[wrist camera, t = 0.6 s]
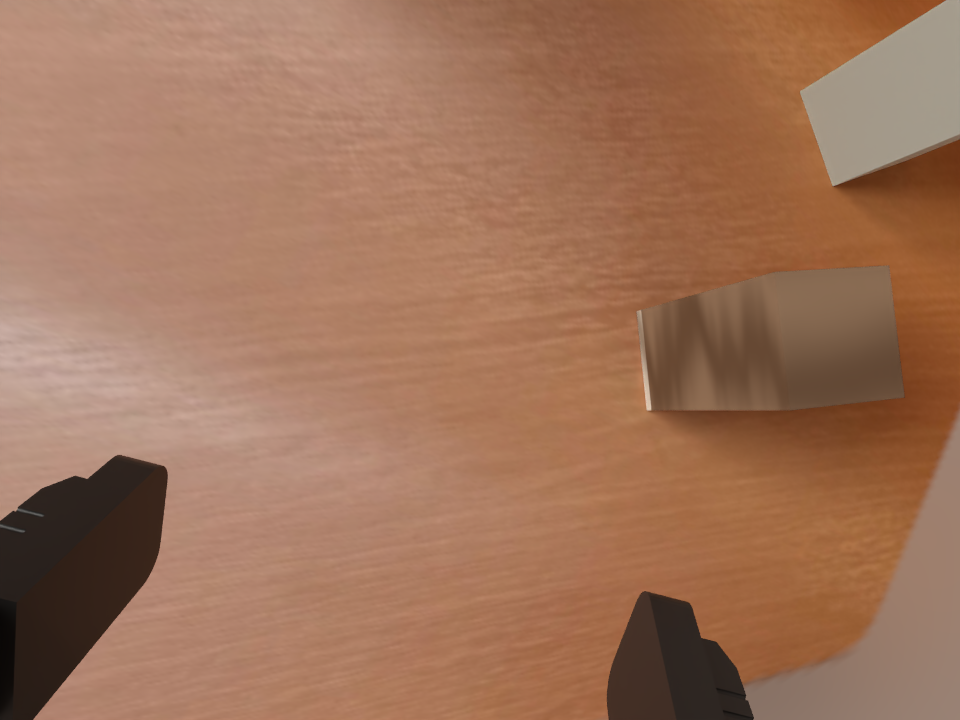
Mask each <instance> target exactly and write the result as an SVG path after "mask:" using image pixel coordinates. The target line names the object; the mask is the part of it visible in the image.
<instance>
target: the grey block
mask: <svg viewBox="0 0 960 720" xmlns="http://www.w3.org/2000/svg"><path fill="white" fill-rule="evenodd" d="M800 94H801V97H802V99H803V102H804V105H805V108H806V111H807V114H808V117H809V120H810V122H811V125H812V128H813V131H814V134H815V137H816V140H817V143H818V145H819V148H820V151H821V154H822V157H823V160H824V163H825V166H826V168H827V171H828V174H829V177H830V180H831V183H832V186H835V185H838V184H841V183H844V182H847V181H850V180H853V179H855V178H858V177H861V176H864V175H867V174H870V173H873V172H875V171H878V170H881V169H884V168H887V167H890V166H893V165H895V164H898V163H901V162H904V161H907V160H910V159H912V158H915V157H917V156H919V155H922V154H924V153H927V152H929V151H932V150H934V149H937V148H939V147H942V146H944V145H947V144H949V143H952V142H954V141H957V140H959V139H960V0H946V1H944V2H943V3H941V4H939V5H938V6H936V7H935V8H933V9H931V10H930V11H928V12H927V13H925V14H923V15H922V16H920V17H919V18H917V19H915V20H914V21H912V22H911V23H909V24H907V25H906V26H904V27H903V28H901V29H899V30H898V31H896V32H894V33H893V34H891V35H890V36H888V37H886V38H885V39H883V40H882V41H880V42H878V43H877V44H875V45H874V46H872V47H870V48H869V49H867V50H866V51H864V52H862V53H861V54H859V55H858V56H856V57H854V58H853V59H851V60H850V61H848V62H846V63H845V64H843V65H842V66H840V67H838V68H837V69H835V70H834V71H832V72H830V73H829V74H827V75H826V76H824V77H822V78H821V79H819V80H818V81H816V82H814V83H813V84H811V85H809V86H808V87H806V88H805V89H803V90H801V91H800Z"/></svg>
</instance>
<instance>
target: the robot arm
mask: <svg viewBox="0 0 960 720" xmlns="http://www.w3.org/2000/svg"><path fill="white" fill-rule="evenodd" d="M167 479H168V474H167V469H166V468H165V467H164V466H161V465H157V464H154V463H150V462H146V461H142V460H138V459H134V458H130V457H126V456H122V455H117V456H115V457H113V458H112V459H111V460H110V461H108V462H107V463H106V464H105V465H104V466H102V467H101V468H100V469H99V470H98V471H96V472H95V473H94V474H93V475H92V476H90V477H89V478H88V479H85V478H81V477H78V476H73V477H71V478H68V479H65V480H63V481H60V482H58V483H55V484H52V485H50V486H47V487H45V488H42V489H41V490H39V491H38V492H37V493H36V494H34V495H33V496H32V497H30V498H29V499H28V500H27V501H25V502H24V503H23V504H21V505H20V506H19V507H18V509H17V511H16V512H15V511H12V512H11V513H10V514H9V515H7V516H6V517H5V518H3V519H2V520H1V521H0V720H33V719H34V718H35V716H36V715H37V714H38V713H39V712H40V710H41V709H42V708H43V707H44V705H45V704H46V703H47V702H48V701H49V699H50V698H51V697H52V696H53V694H54V693H55V692H56V691H57V690H58V688H59V687H60V686H61V685H62V683H63V682H64V681H65V680H66V679H67V677H68V676H69V675H70V674H71V672H72V671H73V670H74V669H75V668H76V666H77V665H78V664H79V663H80V662H81V660H82V659H83V658H84V657H85V655H86V654H87V653H88V652H89V651H90V649H91V648H92V647H93V646H94V644H95V643H96V642H97V641H98V640H99V638H100V637H101V636H102V635H103V633H104V632H105V631H106V630H107V629H108V627H109V626H110V625H111V624H112V622H113V621H114V620H115V619H116V618H117V616H118V615H119V614H120V613H121V611H122V610H123V609H124V608H125V607H126V605H127V604H128V603H129V602H130V600H131V599H132V598H133V597H134V596H135V594H136V593H137V592H138V591H139V589H140V588H141V587H142V586H143V585H144V583H145V582H146V580H147V579H148V577H149V575H150V573H151V571H152V569H153V567H154V565H155V562H156V559H157V556H158V553H159V548H160V542H161V533H162V524H163V516H164V507H165V498H166V489H167ZM745 698H746V694H745V691H744V688H743V685H742V682H741V679H740V676H739V673H738V670H737V668H736V667H735V665H734V664H733V663H732V662H731V660H730V659H729V658H728V656H727V655H726V654H725V653H724V651H723V650H722V649H721V647H720V646H719V645H718V643H717V642H715V641H711V640H707V639H703V638H701V636H700V633H699V629H698V626H697V623H696V619H695V616H694V613H693V609H692V607H691V605H690V603H688V602H685V601H681V600H677V599H674V598H670V597H666V596H662V595H658V594H654V593H650V592H646V591H644V592H642V593H641V594H640V596H639V598H638V599H637V602H636V604H635V607H634V609H633V612H632V614H631V617H630V620H629V622H628V625H627V627H626V630H625V633H624V635H623V638H622V640H621V643H620V645H619V648H618V651H617V653H616V656H615V658H614V661H613V664H612V667H611V671H610V675H609V681H608V689H607V707H608V717H609V720H753V719H754V717H753V714H752V711H751V708H750V705H749V702H748V701H747V700H745Z"/></svg>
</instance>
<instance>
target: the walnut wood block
mask: <svg viewBox="0 0 960 720" xmlns="http://www.w3.org/2000/svg"><path fill="white" fill-rule="evenodd" d="M637 321H638V330H639V340H640V350H641V359H642V369H643V378H644V388H645V398H646V407H647V410H798V409H807V408H816V407H825V406H834V405H843V404H851V403H860V402H869V401H878V400H887V399H896V398H905V396H904V387H903V379H902V370H901V362H900V354H899V345H898V337H897V328H896V320H895V311H894V303H893V295H892V286H891V278H890V269H889V265H888V266H871V267H854V268H836V269H819V270H801V271H784V272H773V273H770V274H766V275H763V276H759V277H755V278H752V279H748V280H745V281H741V282H738V283H734V284H731V285H727V286H724V287H720V288H717V289H713V290H710V291H706V292H703V293H699V294H696V295H692V296H689V297H685V298H682V299H678V300H675V301H671V302H668V303H664V304H661V305H657V306H654V307H650V308H646V309H643V310H639V311H637Z"/></svg>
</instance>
